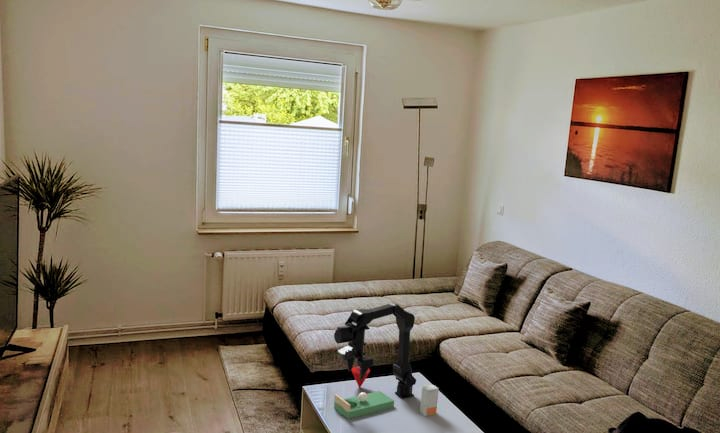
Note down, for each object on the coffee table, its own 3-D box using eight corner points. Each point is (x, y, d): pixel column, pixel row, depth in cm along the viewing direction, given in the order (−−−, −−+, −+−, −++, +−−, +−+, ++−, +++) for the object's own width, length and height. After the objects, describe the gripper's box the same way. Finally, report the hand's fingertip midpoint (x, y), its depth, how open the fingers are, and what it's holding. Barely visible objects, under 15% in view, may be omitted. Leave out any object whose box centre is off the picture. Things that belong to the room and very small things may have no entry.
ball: (363, 398, 247) (364, 390, 247) (369, 402, 244) (369, 393, 244) (356, 400, 245) (356, 391, 245) (361, 404, 242) (362, 395, 241)
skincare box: (425, 417, 241) (427, 390, 239) (419, 412, 244) (421, 386, 243) (436, 414, 243) (439, 388, 242) (431, 410, 247) (433, 384, 246)
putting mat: (379, 397, 257) (380, 384, 256) (393, 407, 248) (394, 394, 247) (333, 408, 243) (333, 394, 242) (346, 419, 234) (347, 405, 233)
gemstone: (367, 393, 259) (368, 373, 258) (348, 391, 261) (349, 370, 260) (370, 386, 268) (372, 365, 267) (352, 383, 270) (354, 363, 269)
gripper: (330, 335, 243) (328, 370, 245) (353, 350, 228) (350, 386, 230) (352, 332, 249) (350, 366, 251) (375, 346, 234) (373, 382, 236)
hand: (355, 375), depth 242 cm, fingers open, 9 cm apart
